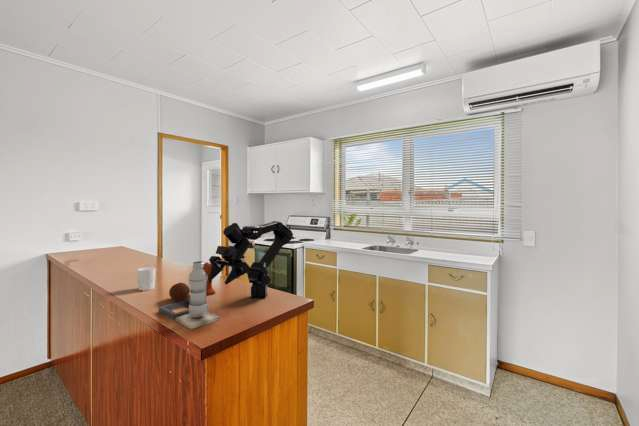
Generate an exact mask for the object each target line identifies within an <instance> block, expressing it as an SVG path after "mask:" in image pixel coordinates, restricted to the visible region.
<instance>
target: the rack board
mask: <svg viewBox="0 0 639 426" xmlns="http://www.w3.org/2000/svg"><path fill="white" fill-rule="evenodd" d="M220 319H221V317H220V315H217V314H215V313H213V312H210V311H208V312H207V314H206V316H204V317H200V318H192V317H190V315H189V314H186V315H183V316H179V317H176V318H175V320H174V321H175V322H177V323H179V324H180V325H182V326H185V327H186V328H189V329H190V330H192V329H196V328H199V327H202V326H205V325H208V324H211V323H214V322H216V321H220Z"/></svg>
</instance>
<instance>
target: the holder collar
mask: <svg viewBox="0 0 639 426" xmlns="http://www.w3.org/2000/svg"><path fill="white" fill-rule="evenodd" d="M189 305H190V298H189V299H186V300H185V301H181V302H177V301H176V302H173V303H169V304H165V305H162V306H158V313H160V314H162V315H163V316H165V317H167V318H169V319H171V320H172V321H175V318H176V317H179V316H183V315H186V314H189V312H188V310H189V308H188V309H185V310H182V311H177V312H175V311H173V310H175V309H176V310H177V309H179V308H183V307H184V308H185V307H187V306H188V307H189Z"/></svg>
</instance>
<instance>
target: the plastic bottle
mask: <svg viewBox="0 0 639 426" xmlns="http://www.w3.org/2000/svg"><path fill="white" fill-rule="evenodd" d="M204 264H205V262H204V261H203V260H202V261H200V260H199V261H193V262H192V268H193V269H192V270H191V272H190V273H189V274H188V284H189V289H190V292H189V299H190V305H189V306H188V309H189V310H188V309H187V310H188V312H189V315H190V317H192V318H200V317H204V316H206V314H207V312H209V307H208V306H209V305H208V302H207V295H206V286H207V279H208V275H207V273H206V271H205V270H204V269H203V267H204Z"/></svg>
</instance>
